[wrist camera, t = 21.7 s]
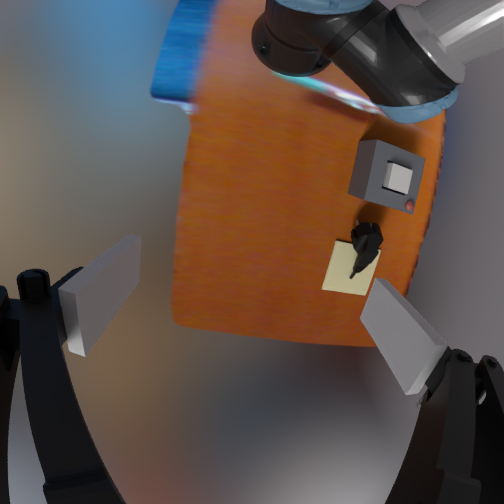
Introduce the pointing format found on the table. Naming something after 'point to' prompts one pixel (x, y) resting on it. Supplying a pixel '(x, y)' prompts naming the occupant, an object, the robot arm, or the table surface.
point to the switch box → (373, 170)
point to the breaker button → (397, 178)
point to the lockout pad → (347, 271)
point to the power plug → (365, 244)
